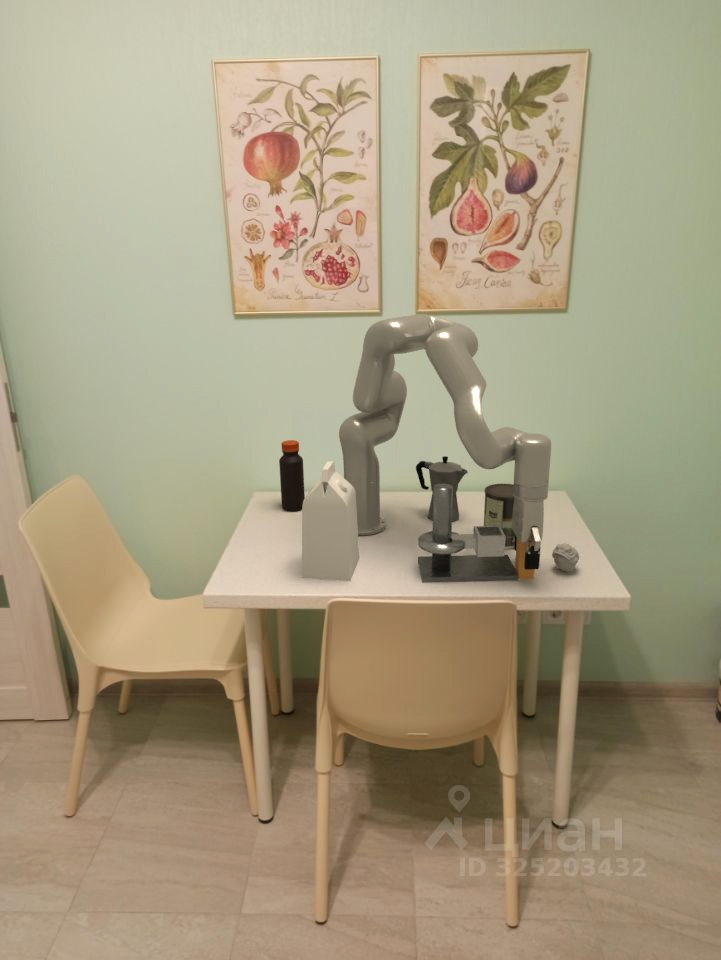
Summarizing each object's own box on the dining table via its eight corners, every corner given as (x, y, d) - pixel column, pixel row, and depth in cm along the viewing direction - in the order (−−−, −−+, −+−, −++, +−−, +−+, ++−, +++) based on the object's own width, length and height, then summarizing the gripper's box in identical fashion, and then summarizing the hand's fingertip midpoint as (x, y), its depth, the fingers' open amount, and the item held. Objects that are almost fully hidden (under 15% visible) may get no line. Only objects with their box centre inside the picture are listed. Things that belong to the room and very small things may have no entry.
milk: (314, 555, 170) (309, 456, 161) (359, 558, 168) (357, 458, 160) (301, 577, 159) (296, 472, 150) (350, 581, 157) (347, 474, 148)
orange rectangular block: (518, 578, 157) (521, 535, 153) (514, 571, 160) (517, 528, 157) (533, 578, 157) (537, 535, 153) (529, 571, 160) (533, 528, 157)
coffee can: (525, 535, 179) (528, 485, 175) (519, 551, 170) (523, 499, 165) (486, 530, 183) (488, 481, 178) (478, 546, 174) (481, 494, 169)
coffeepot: (471, 516, 192) (474, 455, 186) (458, 527, 185) (460, 464, 179) (422, 506, 200) (423, 447, 194) (408, 517, 192) (408, 456, 186)
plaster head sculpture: (544, 571, 160) (547, 544, 158) (560, 561, 165) (562, 535, 163) (568, 579, 156) (571, 552, 154) (583, 569, 161) (586, 542, 158)
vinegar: (295, 513, 196) (292, 447, 189) (277, 509, 199) (273, 443, 193) (309, 506, 201) (306, 441, 195) (291, 502, 205) (288, 438, 198)
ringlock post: (420, 582, 156) (421, 496, 149) (415, 561, 166) (416, 479, 159) (518, 580, 156) (524, 494, 149) (507, 558, 167) (512, 477, 159)
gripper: (505, 477, 160) (501, 544, 165) (523, 504, 143) (518, 577, 149) (537, 476, 160) (532, 543, 165) (558, 503, 143) (553, 576, 149)
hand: (526, 559), depth 157 cm, fingers open, 9 cm apart
